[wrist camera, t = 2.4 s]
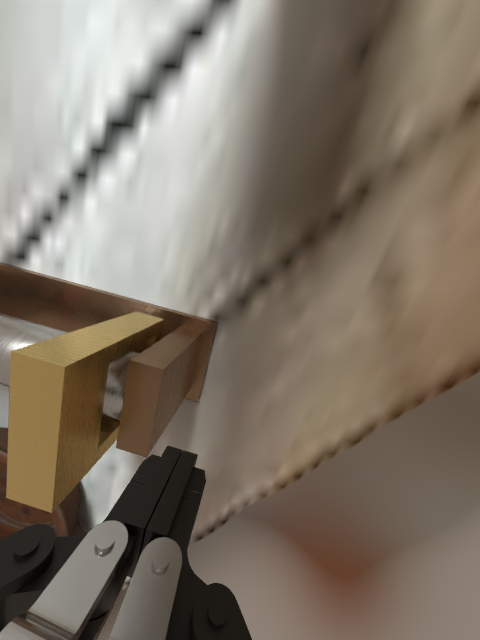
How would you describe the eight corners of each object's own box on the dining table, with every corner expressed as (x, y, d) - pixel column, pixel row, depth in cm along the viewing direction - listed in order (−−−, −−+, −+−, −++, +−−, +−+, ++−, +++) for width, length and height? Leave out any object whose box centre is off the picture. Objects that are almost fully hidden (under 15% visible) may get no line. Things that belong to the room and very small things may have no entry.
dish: (52, 567, 31) (13, 621, 27) (-76, 449, 30) (-142, 485, 25) (139, 506, 28) (112, 556, 23) (-1, 367, 26) (-62, 390, 21)
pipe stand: (-36, 328, 25) (-207, 361, 16) (-38, 252, 23) (-231, 240, 14) (199, 397, 24) (158, 476, 15) (217, 322, 22) (183, 358, 13)
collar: (123, 395, 21) (6, 497, 12) (136, 311, 19) (10, 351, 10) (149, 403, 21) (51, 513, 11) (164, 319, 19) (64, 367, 10)
